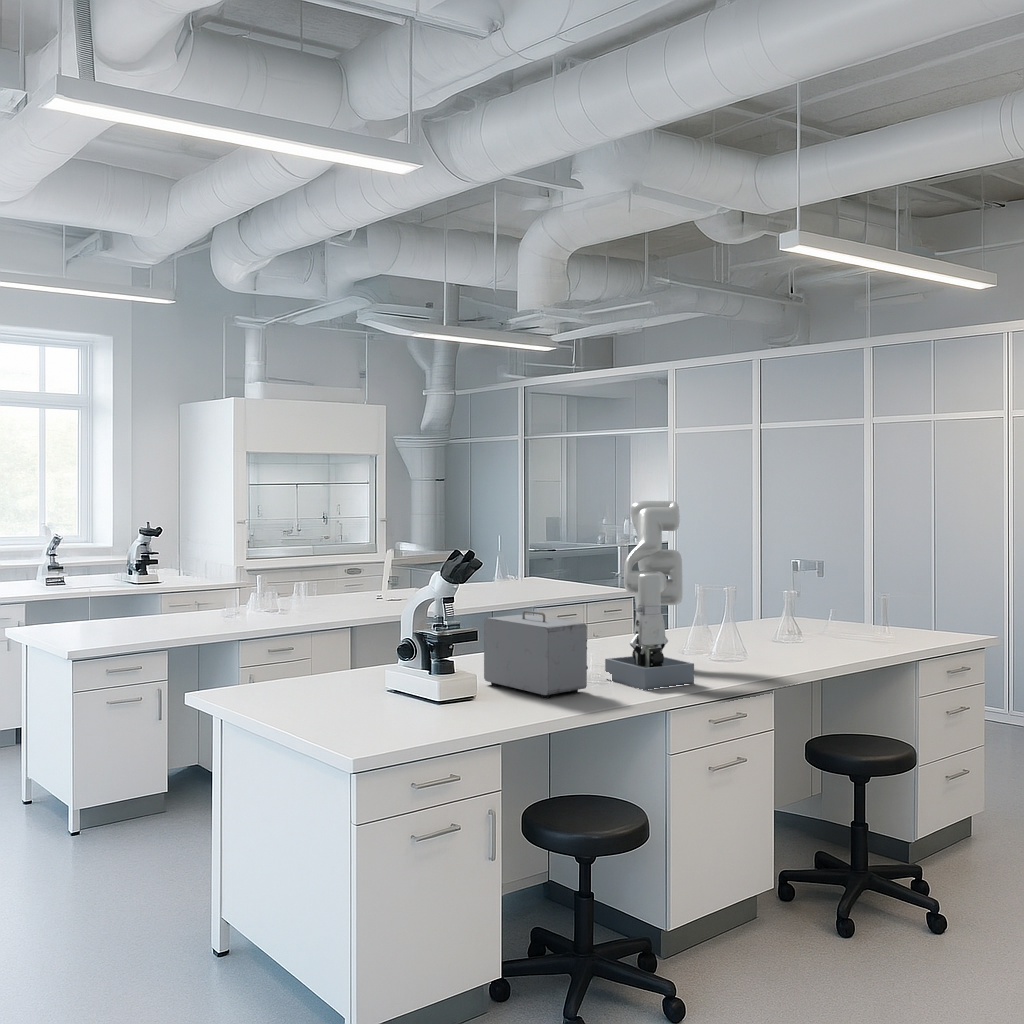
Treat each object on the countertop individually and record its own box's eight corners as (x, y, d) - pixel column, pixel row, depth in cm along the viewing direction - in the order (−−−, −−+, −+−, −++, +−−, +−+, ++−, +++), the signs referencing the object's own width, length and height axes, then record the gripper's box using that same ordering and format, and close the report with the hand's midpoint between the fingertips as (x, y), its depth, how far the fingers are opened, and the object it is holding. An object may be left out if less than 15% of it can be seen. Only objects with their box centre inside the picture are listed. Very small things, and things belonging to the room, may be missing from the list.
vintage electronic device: (591, 692, 307) (591, 613, 307) (548, 700, 296) (548, 618, 296) (526, 678, 332) (526, 604, 332) (484, 684, 321) (484, 608, 320)
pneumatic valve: (653, 683, 318) (652, 646, 318) (632, 677, 329) (631, 641, 328) (667, 681, 321) (666, 644, 321) (645, 675, 331) (645, 640, 331)
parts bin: (605, 679, 330) (605, 658, 329) (652, 674, 339) (652, 654, 339) (645, 690, 310) (645, 668, 310) (694, 684, 320) (694, 663, 320)
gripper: (635, 613, 317) (634, 668, 317) (676, 610, 326) (676, 664, 326) (621, 610, 324) (621, 665, 324) (662, 607, 332) (662, 661, 332)
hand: (649, 664), depth 325 cm, fingers open, 5 cm apart
